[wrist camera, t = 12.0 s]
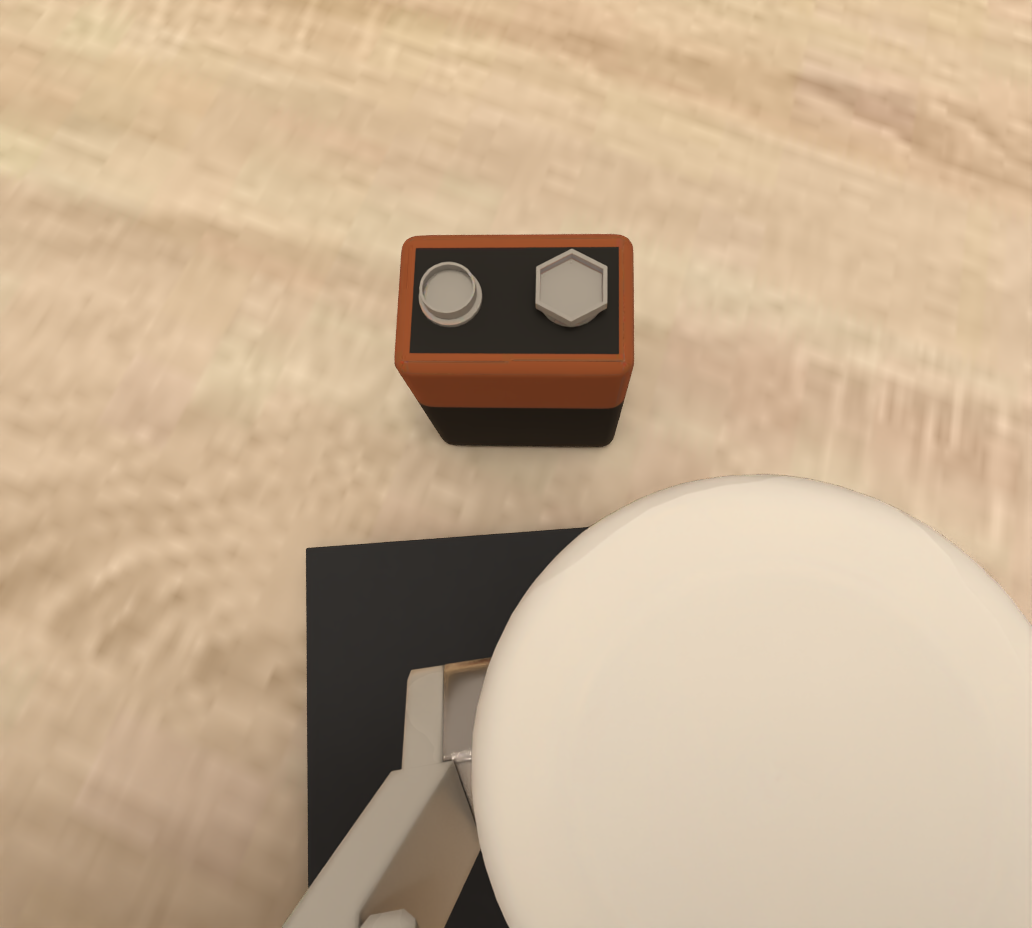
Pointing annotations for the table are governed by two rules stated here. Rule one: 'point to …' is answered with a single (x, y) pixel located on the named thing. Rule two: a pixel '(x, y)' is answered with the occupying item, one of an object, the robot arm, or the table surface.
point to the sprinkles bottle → (759, 722)
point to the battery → (518, 336)
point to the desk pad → (399, 664)
